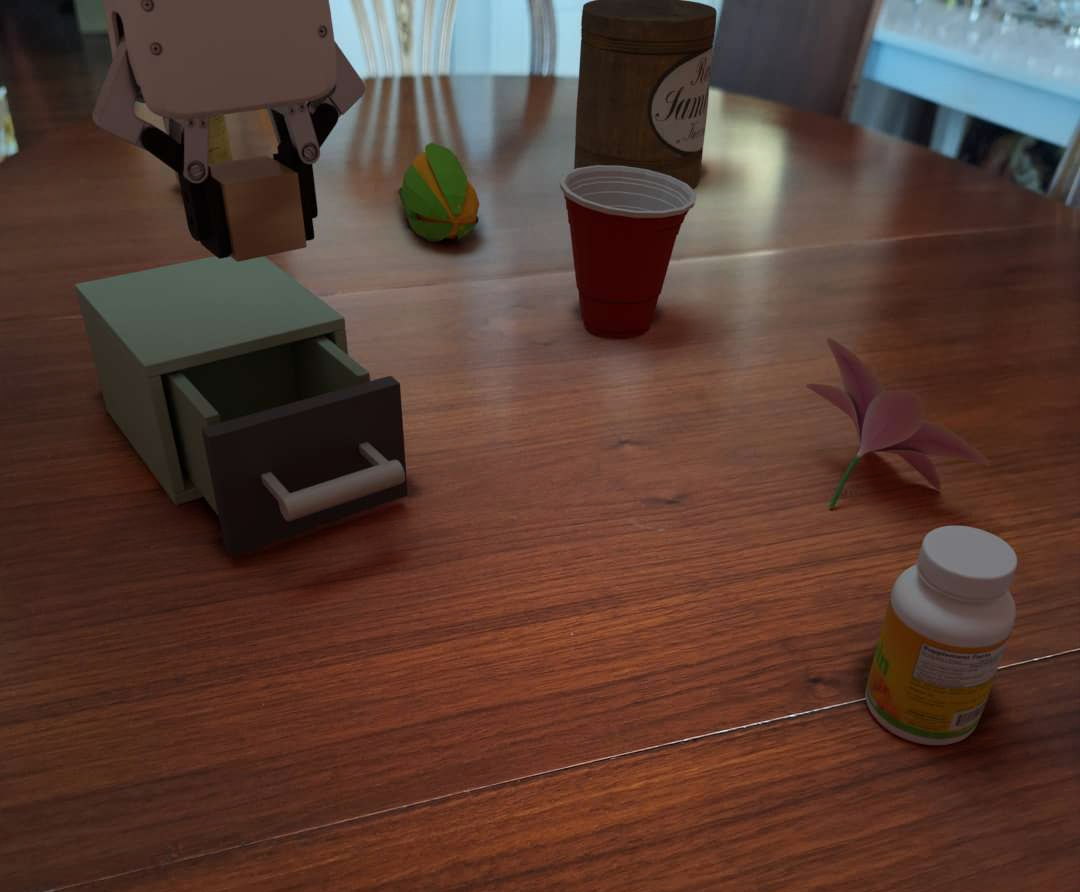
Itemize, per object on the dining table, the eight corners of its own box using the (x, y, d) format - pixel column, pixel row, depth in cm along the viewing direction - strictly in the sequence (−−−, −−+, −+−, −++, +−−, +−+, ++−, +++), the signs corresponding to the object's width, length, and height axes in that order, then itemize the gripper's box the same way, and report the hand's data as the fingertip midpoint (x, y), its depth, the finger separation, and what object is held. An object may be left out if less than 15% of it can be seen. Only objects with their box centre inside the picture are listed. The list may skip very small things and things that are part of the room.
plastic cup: (665, 362, 82) (679, 212, 75) (537, 340, 85) (539, 193, 78) (696, 311, 91) (712, 171, 84) (579, 293, 93) (584, 156, 86)
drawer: (442, 528, 62) (437, 412, 57) (261, 594, 56) (238, 472, 52) (315, 408, 73) (302, 304, 69) (155, 454, 68) (129, 344, 63)
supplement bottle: (865, 662, 54) (907, 506, 48) (974, 683, 53) (1030, 527, 47) (860, 734, 50) (905, 574, 44) (979, 760, 48) (1040, 598, 43)
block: (237, 262, 54) (224, 185, 52) (209, 240, 57) (196, 166, 55) (307, 247, 56) (298, 172, 54) (277, 227, 59) (267, 154, 57)
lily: (975, 564, 63) (1044, 415, 61) (815, 511, 59) (884, 349, 57) (868, 512, 74) (923, 384, 72) (728, 464, 70) (782, 328, 68)
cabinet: (358, 449, 71) (345, 317, 65) (175, 506, 65) (144, 366, 59) (272, 368, 80) (254, 247, 75) (107, 411, 74) (74, 283, 69)
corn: (413, 177, 95) (385, 122, 111) (412, 257, 100) (385, 194, 115) (492, 178, 97) (453, 124, 113) (487, 257, 101) (450, 194, 117)
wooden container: (685, 204, 115) (706, -21, 102) (557, 188, 118) (563, -30, 106) (711, 168, 126) (733, -38, 113) (594, 155, 130) (603, -46, 117)
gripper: (331, -167, 52) (363, 198, 63) (-25, -164, 44) (80, 252, 55) (403, -162, 47) (425, 232, 58) (17, -159, 39) (124, 297, 50)
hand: (257, 238), depth 56 cm, fingers closed on block, 4 cm apart
